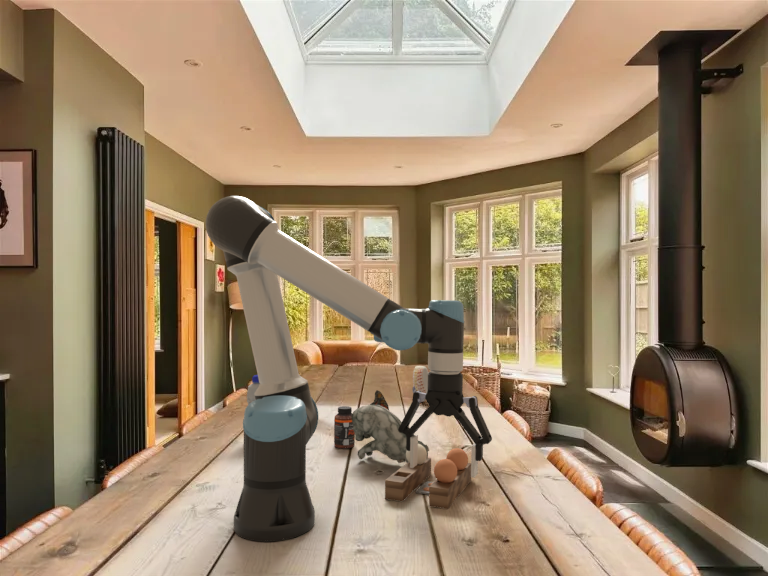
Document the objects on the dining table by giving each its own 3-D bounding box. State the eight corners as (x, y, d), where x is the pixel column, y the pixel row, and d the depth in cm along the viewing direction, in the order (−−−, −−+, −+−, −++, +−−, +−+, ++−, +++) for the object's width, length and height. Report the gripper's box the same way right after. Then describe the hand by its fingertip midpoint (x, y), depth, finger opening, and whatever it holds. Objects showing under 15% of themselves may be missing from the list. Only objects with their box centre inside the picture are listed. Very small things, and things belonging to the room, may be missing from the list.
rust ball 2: (465, 475, 121) (464, 452, 122) (443, 472, 123) (443, 450, 124) (470, 468, 126) (470, 447, 126) (449, 465, 128) (449, 444, 128)
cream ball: (422, 469, 125) (422, 447, 126) (402, 466, 127) (402, 445, 128) (429, 463, 130) (429, 442, 130) (410, 460, 132) (410, 440, 132)
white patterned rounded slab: (408, 397, 233) (408, 362, 234) (420, 396, 234) (420, 362, 235) (421, 407, 213) (421, 368, 213) (435, 406, 214) (435, 368, 214)
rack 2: (447, 509, 111) (447, 489, 111) (429, 506, 113) (429, 486, 113) (471, 480, 128) (471, 463, 129) (454, 477, 130) (454, 461, 130)
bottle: (241, 443, 161) (241, 375, 161) (256, 437, 167) (257, 372, 167) (259, 445, 158) (259, 377, 158) (274, 440, 164) (274, 374, 164)
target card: (434, 495, 119) (434, 493, 119) (415, 492, 120) (415, 490, 120) (444, 485, 125) (444, 483, 125) (426, 482, 127) (426, 480, 127)
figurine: (349, 479, 138) (414, 468, 128) (344, 406, 146) (405, 390, 135) (372, 479, 146) (436, 468, 135) (366, 409, 153) (426, 394, 142)
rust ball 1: (453, 488, 113) (453, 464, 113) (430, 484, 115) (430, 461, 115) (459, 480, 118) (460, 457, 118) (437, 477, 120) (438, 454, 120)
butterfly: (399, 426, 182) (399, 396, 182) (370, 426, 181) (370, 396, 181) (394, 417, 194) (394, 389, 194) (367, 418, 193) (367, 390, 193)
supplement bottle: (351, 449, 154) (351, 409, 154) (331, 448, 155) (331, 408, 155) (357, 444, 160) (357, 405, 160) (337, 443, 161) (337, 404, 161)
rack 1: (402, 501, 115) (402, 482, 115) (385, 498, 117) (385, 480, 117) (431, 474, 133) (431, 458, 133) (415, 472, 134) (415, 456, 134)
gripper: (507, 374, 115) (505, 474, 115) (398, 365, 125) (396, 457, 125) (499, 378, 108) (497, 485, 108) (385, 369, 118) (383, 467, 118)
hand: (443, 470), depth 117 cm, fingers open, 13 cm apart
